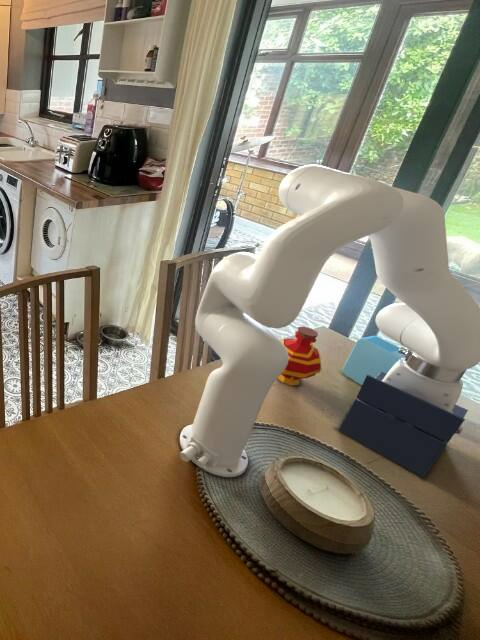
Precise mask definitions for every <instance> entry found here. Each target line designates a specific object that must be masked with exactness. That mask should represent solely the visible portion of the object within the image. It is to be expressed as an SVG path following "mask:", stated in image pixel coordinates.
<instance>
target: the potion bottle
mask: <svg viewBox="0 0 480 640" xmlns="http://www.w3.org/2000/svg"><path fill="white" fill-rule="evenodd" d="M318 334H319V333H318V331H316V330H315V329H313V328H311V327H306V326H298V327H297V330H296V331H295V332H294V336H295V338H283V339H280V340H281V342H282V343H283V344H284V346H285V347H286V349H287V352H288V356H289V360H288V364H287V366H286V368H285V370H284V371H283V372H282V373H281V375H280V376H279V377H278V378H277V380H279V381H280V382H281V383H283V384H287V385H290V386H297V385H300V381H299V380H302V379H303V380H304V379H309V378H312V377H314V376H316V374H319V373H320V372H321V371H322V359H321V354H320V351H319V349H318V348H316V347H315V346H314V345H313V344H314V343H316V342H317V337H318V336H319V335H318Z"/></svg>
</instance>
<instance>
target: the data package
mask: <svg viewBox="0 0 480 640" xmlns="http://www.w3.org/2000/svg"><path fill="white" fill-rule="evenodd" d="M400 348H401V347H399V346H397V345H395V344H393V343H391V342H389V341H387V340H385V339H384V338H381V337H380V336H376V335H370V336H365V337H361V338H358V339H357V340H356V342H355V343H354V346H353V348H352V349H351V351H350V354H349V355H348V358H347V359H346V361H345V363H344V365H343V367H342V372H343V374H344V375H345V376H346V377H348V378H349V379H351V380H352V381H353V382H355V383H357V384H359V385H360V386H361V385H362V384H363V382H364V380H365V378H366V376H367V375H370V376H372V377H374V378H376V377H377V376H378V375H379V374H380V373H381V372H383V373H386V374H387V373H388V372H389V370H390V369H391V368H392V367H393V366H394V364H395V363H397V362H398V361H399V360H400V359H402V358H404V357H405V356H403V354H400V353H398V351H399V350H400Z"/></svg>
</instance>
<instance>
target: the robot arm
mask: <svg viewBox="0 0 480 640" xmlns="http://www.w3.org/2000/svg"><path fill="white" fill-rule="evenodd" d="M278 200H279V201H280V203H281V205H282V206H283V207H284V208H285V209H287V210H288V211H290V212H292V213H294V214H296V215H298V216H297V217H294V218H293V219H291V220H289V221H287V222H285V223H284V224H282V225H280V226H279V227H278V228H276V229H274V230H273V231H272V232H271V233H270V234H269V235H268V237H267V238H266V240H265V241H264V242H263V245H262V247H261V250H260V252H259V253H258V255H256V254H254V253H251V252H246V251H238V252H234V253H231V254H229V255H227V256H225V257H224V258H222V259H221V260H219V262H218V263H217V264H216V265H215V266H214V267H213V269H212V271H211V273H210V275H209V277H208V279H207V283H206V285H205V288H204V292H203V294H202V297H201V300H200V302H199V306H198V308H197V312H196V315H195V320H194V321H195V322H194V324H195V329H196V331H197V333H198V335H199V336H200V337H201V338H202V339H203V340H204V342H206V344H207V345H208V346H209V347H210V348H211V349H212V350H213V351H214V352H215V354H216V355H217V356H218V357H219V358H220V360H221V362H222V365H221V367H218V368H216V369H214V370H212V371H211V373H210V374H209V375H208V377H207V379H206V382H205V386H204V389H203V391H202V392H203V393H202V395H201V398H200V401H199V404H198V407H197V410H196V413H195V416H194V420H193V422H192V424H189V425H186V426H185V427H183V429H182V430H181V432H180V435H179V444H180V448H181V449H182V451H181V452H179V458H180V459H181V460H182V462H185V463H189V461H191V462H192V463H193V464H194V465H196V466H197V467H199V468H200V469H202V470H203V471H205V472H208V473H210V474H212V475H215V476H218V477H223V478H234V477H239V476H240V475H242V474H244V473H245V472H246V470H247V468H248V465H249V458H248V457H249V456H248V454H247V451H246V450H245V447H246V445H247V443H248V440H249V437H250V435H251V433H252V431H253V428H254V426H255V423H256V421H257V419H258V416H259V414H260V412H261V409H262V406H263V404H264V401H265V400H266V398H267V395H268V394H269V391H270V389H271V388H272V386H273V385H274V383H275V382H276V381H277V380H278V377H279V376H280V375H281V373H282V372H283V371H284V370H285V368H286V366H287V364H288V360H289V356H288V352H287V349H286V347H285V346H284V344H283V343H282V342H281V340H282V339H280V338H279V337H278V336H277V335H276V334H275V333H274V332H272V330H270V329H269V328H271V329H281V328H286V327H288V326H290V325H291V324H292V323H293V322H295V320H297V318H298V316H299V314H300V313H301V311H302V309H303V307H304V305H305V304H306V301H307V299H308V298H309V295H310V294H311V291H312V289H313V287H314V285H315V283H316V282H317V279H318V277H319V275H320V272H321V271H322V269H323V268H324V267H325V264H326V263H327V261H328V260H329V259H330V258H331V257H332V256H333V255H335V254H336V252H338V251H340V250H341V249H343V248H344V247H347V246H348V245H350V244H352V243H355V242H357V241H358V240H361V239H363V238H365V237H368V238H369V240H370V244H371V249H372V255H373V260H374V266H375V273H376V276H377V278H378V280H379V282H380V283H381V284H382V285H383V286H384V287H385V288H386V289H387V290H388V291H389V292H390V293H391V294H392V295H393V296H395V298H397V299H398V300H399V301H401V302H398V303H392V304H389V305H387V306H384V307H383V308H382V309H380V310H379V311H378V312H377V314H376V316H375V320H374V321H375V325H376V328H378V330H379V331H380V332H381V333H383V334H384V335H385V336H387V337H388V338H390V339H392V340H393V341H395V342H396V343H398V344H399V345H401V347H399V348H400V350H399V351H398V353H400V354H403V356H405V357H404V358H402V359H400V360H399V361H398V362H397V363H395V364H394V366H393V367H392V368H391V369H390V370H389V372H388V373H387V374H386V376H385V377H384V379H383V380H381V381H383V382H385V383H387V384H389V385H392V386H394V387H396V388H398V389H400V390H403V391H405V392H407V393H409V394H411V395H414V396H416V397H418V398H420V399H422V400H424V401H427V402H429V403H431V404H433V405H435V406H438V407H440V408H442V409H444V410H446V411H449V412H451V413H453V412H452V410H453V408H454V406H455V405H457V402H458V401H459V399H460V396H461V393H462V390H463V386H464V382H463V380H462V378H463V376H464V375H465V374H466V371H468V370H469V369H472V368H474V367H476V366H477V365H478V364H479V363H480V306H479V304H478V303H477V302H476V301H475V299H474V298H473V297H472V295H471V294H470V293H469V292H468V290H467V289H466V288H465V287H464V285H463V284H462V283H461V282H460V281H459V279H457V277H455V275H454V274H452V272H451V271H450V267H449V264H450V263H449V254H448V252H449V251H448V241H447V229H446V228H447V227H446V216H445V212H444V209H443V207H442V206H441V205H440V204H439V203H438V202H437V201H436V200H434V199H433V198H431V197H429V196H426V195H424V194H420V193H417V192H413V191H411V190H405V189H402V188H400V187H395V186H391V185H389V184H386V183H384V182H382V181H379V180H376V179H373V178H369V177H366V176H362V175H359V174H354V173H350V172H346V171H342V170H339V169H335V168H331V167H327V166H324V165H319V164H307V165H303V166H299V167H297V168H295V169H293V170H292V171H290V172H289V173H288V174H287V175H285V177H283V178H282V180H281V182H280V184H279V187H278ZM361 386H362V385H360V387H361ZM373 407H374V408H376V409H378V410H380V411H382V412H384V411H383V410H381V409H379V408H377V407H375V406H373ZM418 430H420V431H422V432H424V433H426V434H428V435H429V433H427V432H425V431H423V430H421V429H419V428H418ZM462 432H463V427H462V425H461V426H460V427H459V428H458V430H457V431H456V432H455V434H457V435H459V434H461V433H462ZM455 434H454V435H455ZM197 457H199V458H197ZM203 466H205V467H206V468H205V467H203ZM207 468H208V469H207Z"/></svg>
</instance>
